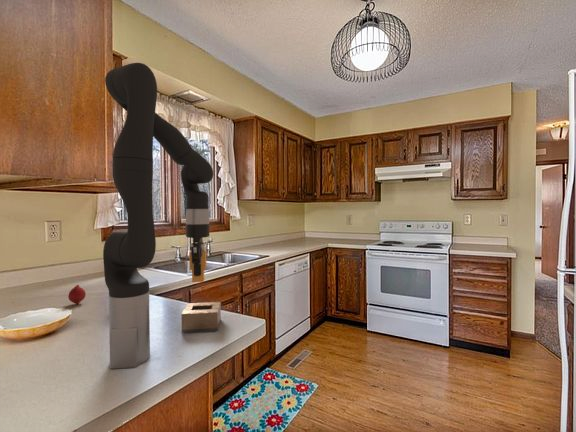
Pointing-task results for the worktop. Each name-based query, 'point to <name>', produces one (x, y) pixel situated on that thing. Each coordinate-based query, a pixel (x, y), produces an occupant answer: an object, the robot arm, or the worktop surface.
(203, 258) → the orange stepped block
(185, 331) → the base
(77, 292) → the onion
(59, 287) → the worktop surface
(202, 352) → the worktop surface
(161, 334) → the worktop surface
